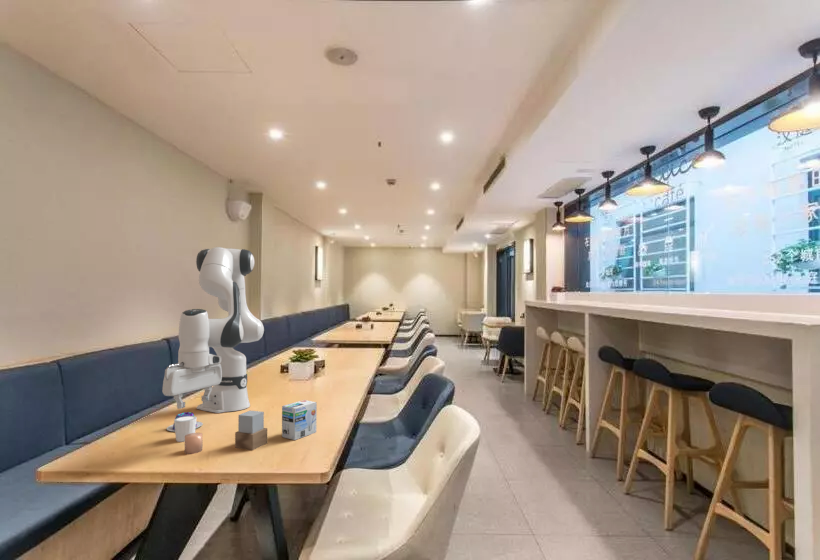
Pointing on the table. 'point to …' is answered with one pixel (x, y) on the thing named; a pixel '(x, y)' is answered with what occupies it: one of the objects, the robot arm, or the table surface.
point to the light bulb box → (299, 419)
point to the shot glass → (184, 427)
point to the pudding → (183, 416)
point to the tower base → (250, 439)
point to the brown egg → (193, 443)
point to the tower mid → (251, 422)
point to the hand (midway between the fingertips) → (193, 404)
